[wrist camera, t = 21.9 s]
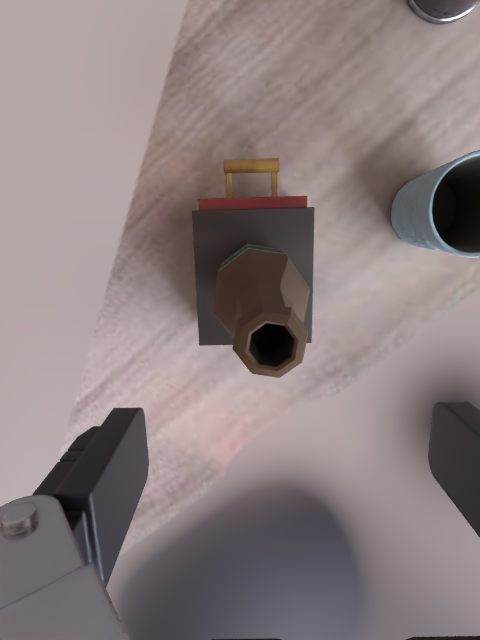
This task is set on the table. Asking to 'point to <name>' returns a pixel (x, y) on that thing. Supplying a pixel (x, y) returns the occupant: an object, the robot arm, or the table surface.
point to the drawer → (253, 202)
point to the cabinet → (232, 234)
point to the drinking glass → (442, 208)
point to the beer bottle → (263, 308)
